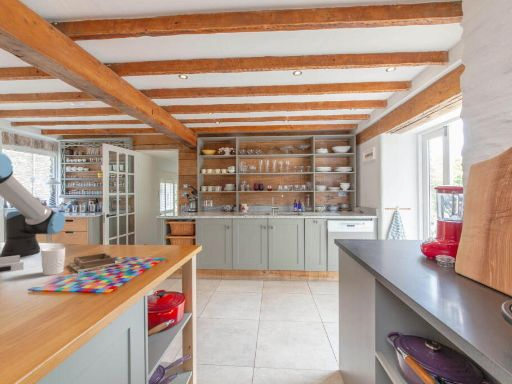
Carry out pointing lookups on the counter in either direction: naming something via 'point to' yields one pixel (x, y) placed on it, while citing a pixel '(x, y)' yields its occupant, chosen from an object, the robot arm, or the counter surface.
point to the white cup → (53, 260)
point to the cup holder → (93, 262)
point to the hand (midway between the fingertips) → (21, 261)
